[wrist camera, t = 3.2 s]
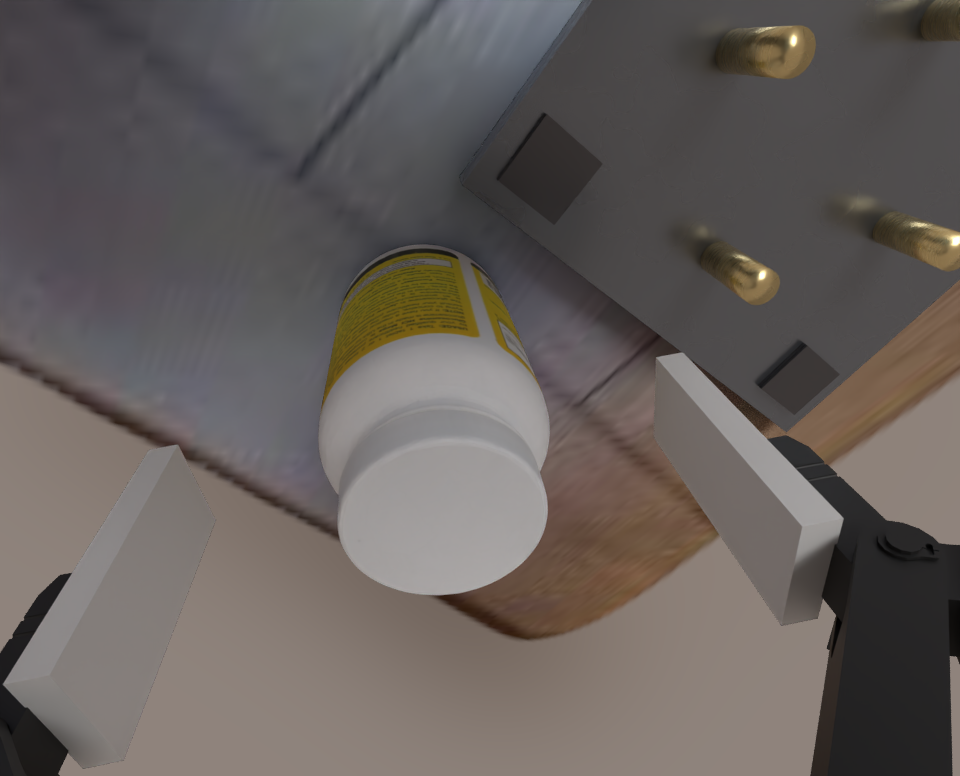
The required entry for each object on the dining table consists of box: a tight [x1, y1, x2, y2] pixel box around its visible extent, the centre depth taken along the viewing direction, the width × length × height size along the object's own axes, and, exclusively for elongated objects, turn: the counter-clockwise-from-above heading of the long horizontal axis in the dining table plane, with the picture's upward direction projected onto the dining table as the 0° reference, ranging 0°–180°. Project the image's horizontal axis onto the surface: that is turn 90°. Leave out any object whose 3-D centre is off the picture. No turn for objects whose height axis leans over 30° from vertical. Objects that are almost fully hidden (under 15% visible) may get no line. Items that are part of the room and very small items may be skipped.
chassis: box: [459, 0, 960, 432], centre depth 18 cm, size 18×16×4 cm
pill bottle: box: [318, 244, 550, 595], centre depth 17 cm, size 6×6×11 cm
